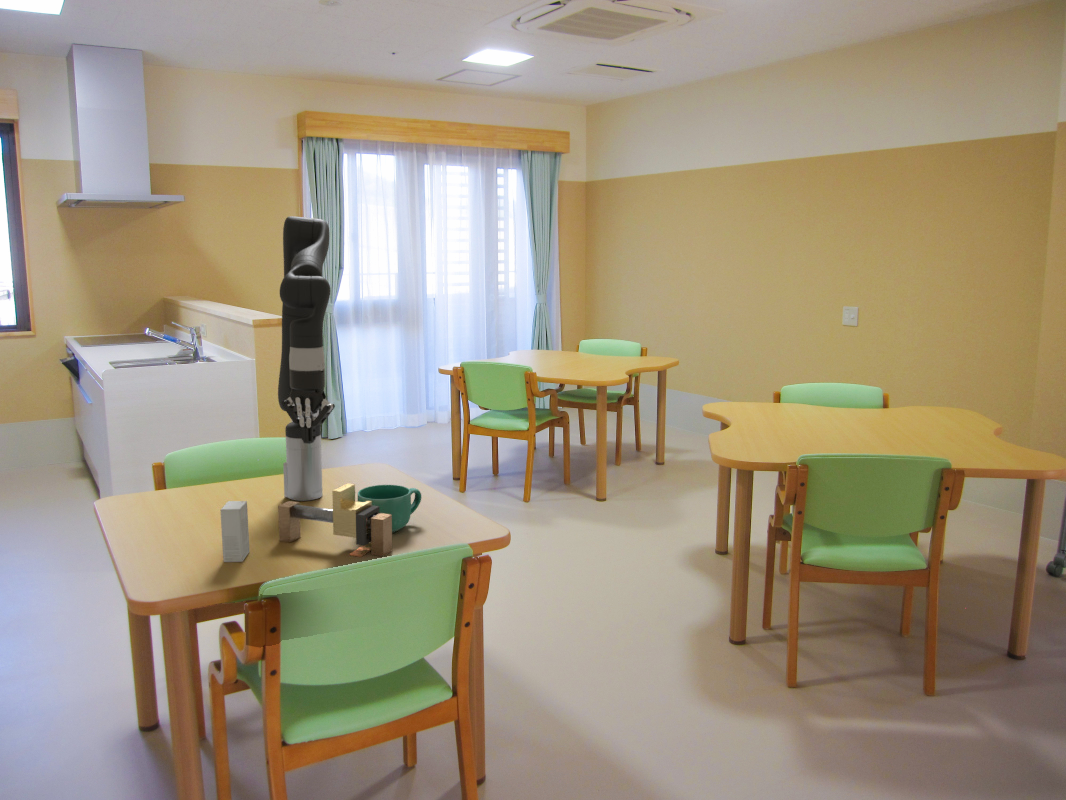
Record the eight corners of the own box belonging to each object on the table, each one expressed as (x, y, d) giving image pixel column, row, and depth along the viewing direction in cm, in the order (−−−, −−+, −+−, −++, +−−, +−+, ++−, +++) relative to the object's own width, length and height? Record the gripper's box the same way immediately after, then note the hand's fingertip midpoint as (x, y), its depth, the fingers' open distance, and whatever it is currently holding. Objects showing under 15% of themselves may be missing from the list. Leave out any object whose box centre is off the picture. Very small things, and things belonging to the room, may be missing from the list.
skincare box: (230, 552, 181) (227, 500, 179) (250, 552, 181) (247, 500, 179) (222, 562, 175) (219, 509, 173) (242, 562, 175) (240, 509, 173)
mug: (371, 541, 190) (371, 502, 188) (349, 526, 199) (348, 489, 198) (434, 528, 199) (434, 491, 197) (410, 515, 209) (410, 479, 207)
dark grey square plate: (356, 544, 180) (355, 514, 179) (372, 534, 187) (371, 505, 185) (364, 545, 180) (363, 515, 178) (379, 535, 186) (379, 506, 185)
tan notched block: (332, 535, 182) (331, 491, 180) (348, 525, 188) (348, 483, 186) (356, 538, 180) (355, 494, 178) (371, 528, 186) (371, 485, 185)
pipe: (274, 543, 187) (272, 508, 185) (294, 532, 194) (293, 498, 193) (379, 559, 178) (378, 522, 177) (396, 547, 186) (395, 511, 184)
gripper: (271, 366, 179) (273, 443, 182) (323, 371, 175) (325, 449, 178) (291, 362, 186) (293, 436, 189) (342, 366, 182) (343, 442, 185)
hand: (308, 442), depth 184 cm, fingers closed
